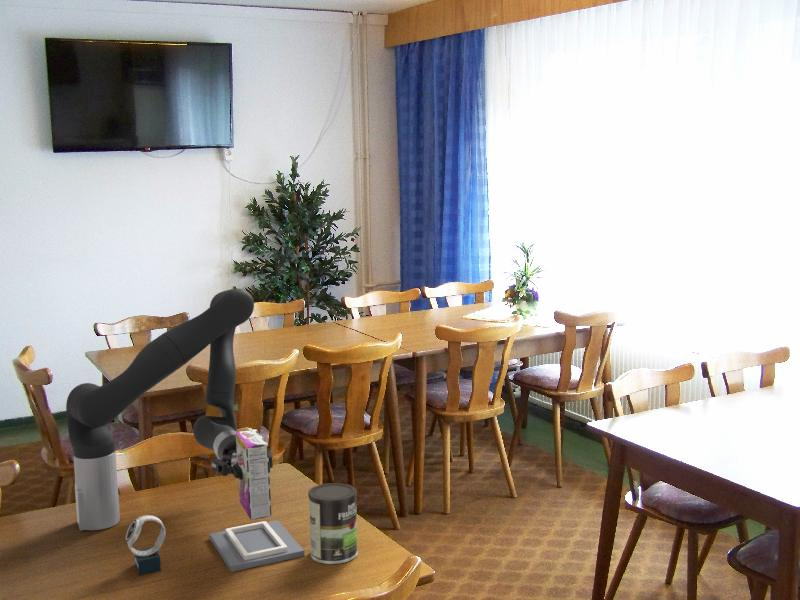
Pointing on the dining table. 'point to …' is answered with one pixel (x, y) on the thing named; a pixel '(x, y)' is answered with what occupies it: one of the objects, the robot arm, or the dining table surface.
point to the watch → (147, 557)
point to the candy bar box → (254, 474)
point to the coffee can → (333, 523)
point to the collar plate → (255, 545)
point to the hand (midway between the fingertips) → (254, 472)
